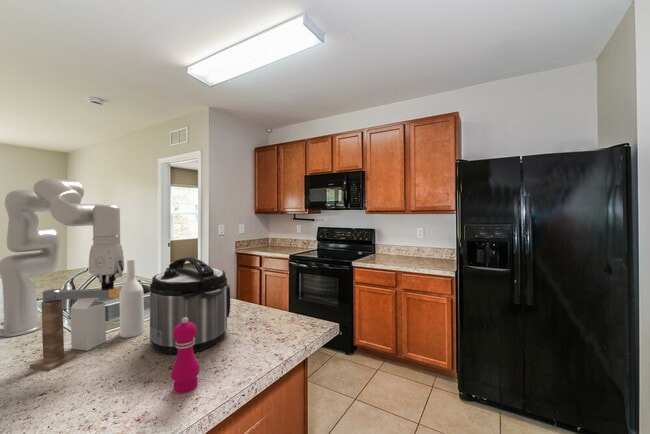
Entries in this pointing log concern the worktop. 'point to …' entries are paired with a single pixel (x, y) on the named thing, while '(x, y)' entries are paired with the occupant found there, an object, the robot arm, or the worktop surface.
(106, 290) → the arm
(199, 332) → the pressure cooker
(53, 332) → the gate post
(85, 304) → the milk carton
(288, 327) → the worktop surface
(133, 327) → the bottle
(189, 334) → the pepper mill
